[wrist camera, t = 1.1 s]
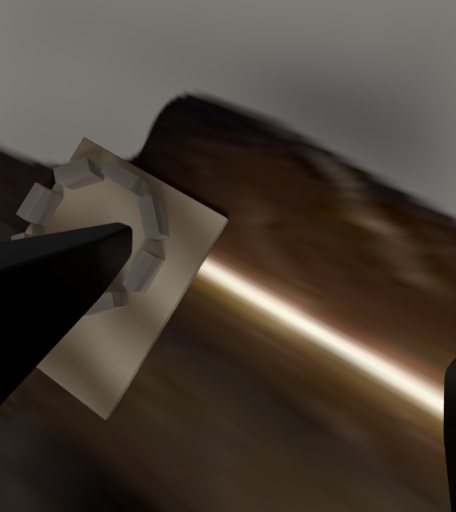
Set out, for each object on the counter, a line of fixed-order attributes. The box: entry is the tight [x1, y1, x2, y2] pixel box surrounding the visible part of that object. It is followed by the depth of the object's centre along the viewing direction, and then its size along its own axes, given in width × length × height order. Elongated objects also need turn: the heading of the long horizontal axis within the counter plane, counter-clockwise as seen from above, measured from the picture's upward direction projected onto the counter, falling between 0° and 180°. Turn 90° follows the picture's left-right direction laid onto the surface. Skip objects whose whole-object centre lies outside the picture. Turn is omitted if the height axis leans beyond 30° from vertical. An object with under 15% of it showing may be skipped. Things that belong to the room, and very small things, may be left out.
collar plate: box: [11, 137, 229, 420], centre depth 24 cm, size 16×13×3 cm
